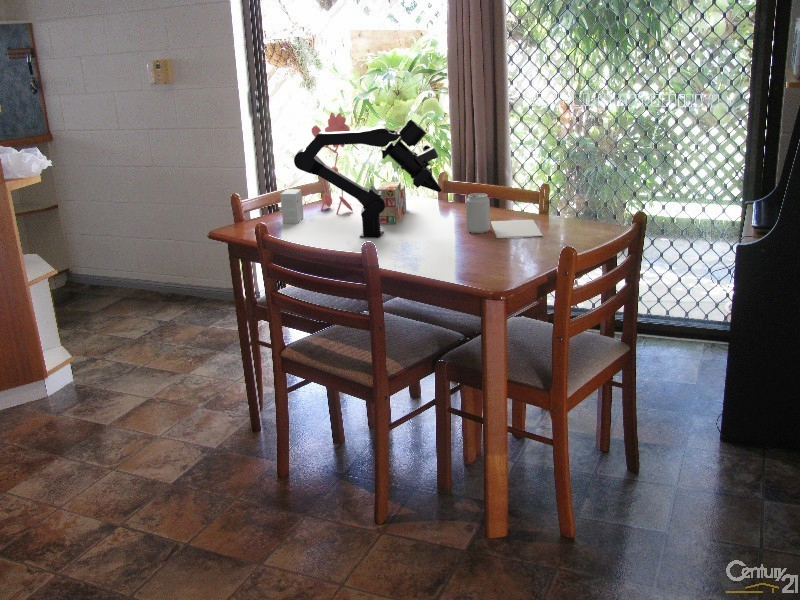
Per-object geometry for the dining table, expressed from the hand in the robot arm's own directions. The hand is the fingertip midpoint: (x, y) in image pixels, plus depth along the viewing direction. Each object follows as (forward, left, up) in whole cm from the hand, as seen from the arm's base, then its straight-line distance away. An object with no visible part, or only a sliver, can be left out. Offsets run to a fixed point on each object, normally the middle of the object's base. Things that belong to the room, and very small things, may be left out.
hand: (440, 191), depth 255 cm
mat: (+6, -23, -14) cm, 27 cm away
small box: (+10, +56, -14) cm, 58 cm away
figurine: (+29, +44, -14) cm, 54 cm away
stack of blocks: (+19, +22, -14) cm, 32 cm away
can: (+3, -11, -14) cm, 18 cm away
